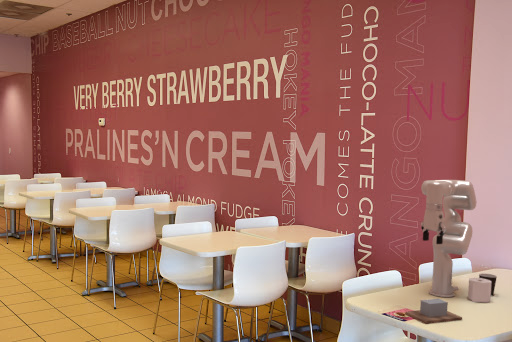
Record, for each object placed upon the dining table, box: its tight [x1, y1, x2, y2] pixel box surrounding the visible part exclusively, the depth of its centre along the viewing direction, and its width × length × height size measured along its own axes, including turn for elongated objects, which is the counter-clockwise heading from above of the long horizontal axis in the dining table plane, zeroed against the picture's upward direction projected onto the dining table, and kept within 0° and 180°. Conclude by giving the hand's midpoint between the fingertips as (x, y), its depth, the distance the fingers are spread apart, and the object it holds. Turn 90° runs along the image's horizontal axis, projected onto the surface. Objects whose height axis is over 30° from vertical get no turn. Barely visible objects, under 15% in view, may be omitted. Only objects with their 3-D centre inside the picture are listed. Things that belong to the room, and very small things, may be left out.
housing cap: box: [419, 298, 449, 317], centre depth 236 cm, size 10×6×6 cm, turn 112°
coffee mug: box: [478, 273, 497, 296], centre depth 281 cm, size 12×9×10 cm
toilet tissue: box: [467, 277, 492, 303], centre depth 267 cm, size 11×12×10 cm
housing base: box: [404, 309, 463, 325], centre depth 236 cm, size 20×14×4 cm
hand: (432, 242), depth 257 cm, fingers open, 9 cm apart
